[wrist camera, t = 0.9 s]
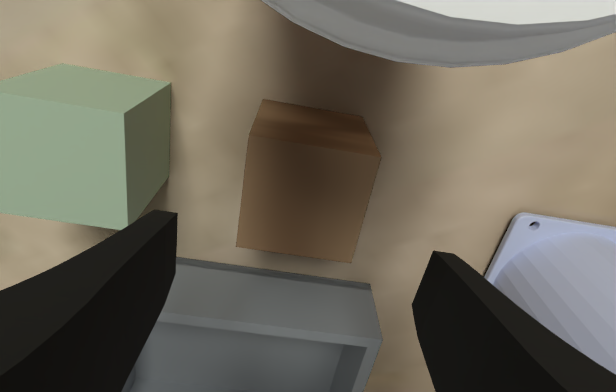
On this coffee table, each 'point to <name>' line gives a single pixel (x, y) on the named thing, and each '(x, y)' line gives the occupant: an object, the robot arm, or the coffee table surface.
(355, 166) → the walnut block
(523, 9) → the paper cup
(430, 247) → the coffee table surface
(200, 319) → the tray
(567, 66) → the coffee table surface
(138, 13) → the coffee table surface
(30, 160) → the sage block
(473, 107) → the coffee table surface
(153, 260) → the robot arm
